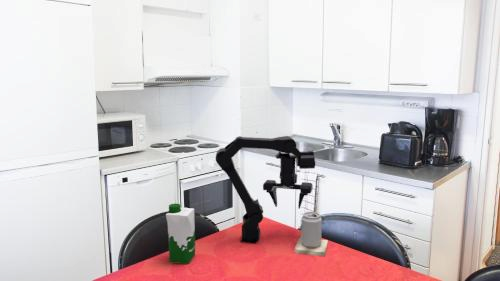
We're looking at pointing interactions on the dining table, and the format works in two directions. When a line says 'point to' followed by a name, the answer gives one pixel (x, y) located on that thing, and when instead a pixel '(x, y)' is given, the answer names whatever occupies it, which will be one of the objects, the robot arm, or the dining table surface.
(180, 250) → the milk carton
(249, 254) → the dining table surface
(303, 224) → the can
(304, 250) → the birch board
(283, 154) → the robot arm
